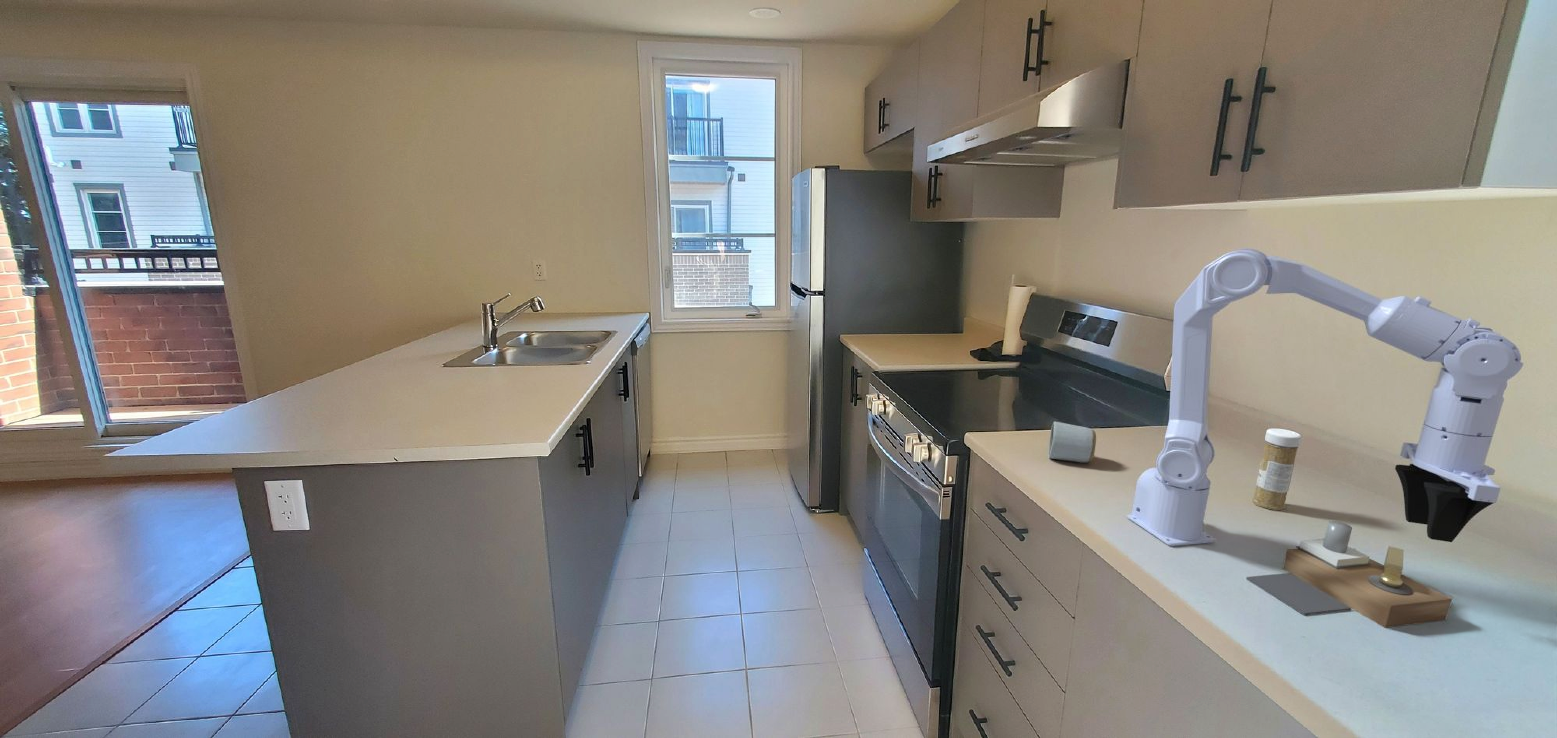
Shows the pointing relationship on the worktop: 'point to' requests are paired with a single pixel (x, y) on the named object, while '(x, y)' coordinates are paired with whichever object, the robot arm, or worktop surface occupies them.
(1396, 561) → the lever handle
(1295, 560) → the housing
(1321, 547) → the cover
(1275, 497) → the sprinkles bottle
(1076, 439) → the ceramic mug
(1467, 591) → the worktop surface
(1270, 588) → the mat
